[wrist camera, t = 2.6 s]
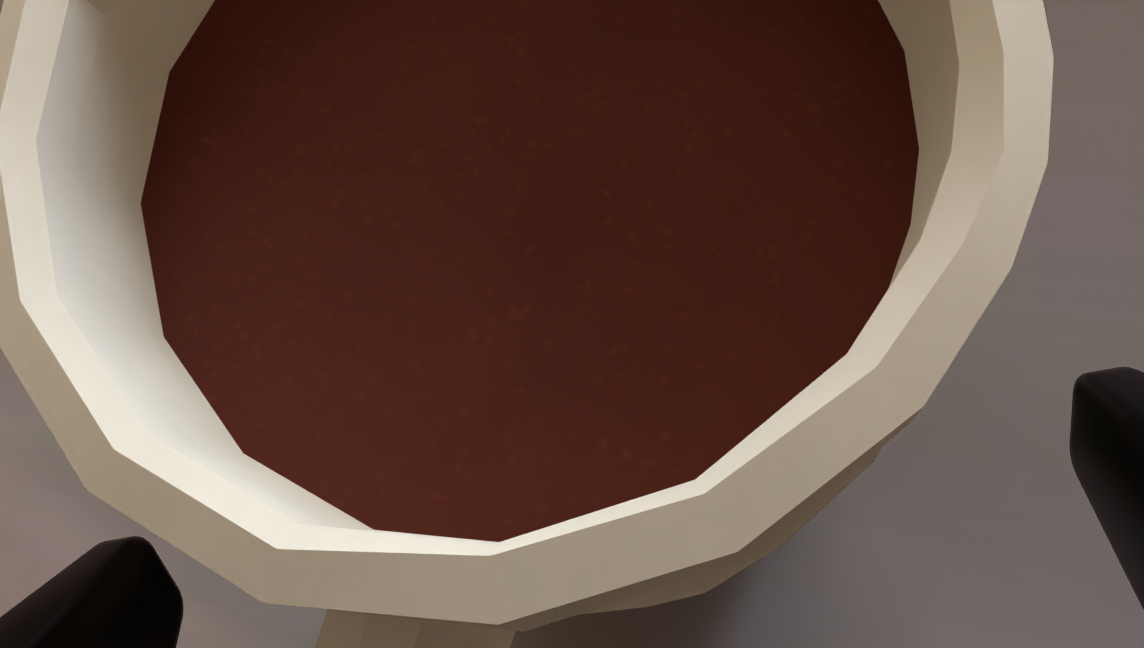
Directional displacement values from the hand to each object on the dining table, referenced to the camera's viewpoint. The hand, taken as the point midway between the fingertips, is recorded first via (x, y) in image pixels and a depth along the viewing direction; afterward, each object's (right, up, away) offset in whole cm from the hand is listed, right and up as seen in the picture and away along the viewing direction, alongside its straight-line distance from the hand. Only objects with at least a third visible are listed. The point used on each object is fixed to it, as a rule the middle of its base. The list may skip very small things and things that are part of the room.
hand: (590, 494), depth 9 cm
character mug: (+1, 0, +10) cm, 10 cm away
